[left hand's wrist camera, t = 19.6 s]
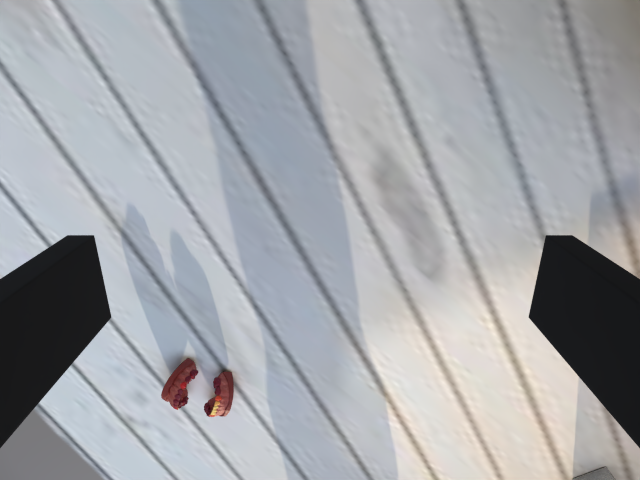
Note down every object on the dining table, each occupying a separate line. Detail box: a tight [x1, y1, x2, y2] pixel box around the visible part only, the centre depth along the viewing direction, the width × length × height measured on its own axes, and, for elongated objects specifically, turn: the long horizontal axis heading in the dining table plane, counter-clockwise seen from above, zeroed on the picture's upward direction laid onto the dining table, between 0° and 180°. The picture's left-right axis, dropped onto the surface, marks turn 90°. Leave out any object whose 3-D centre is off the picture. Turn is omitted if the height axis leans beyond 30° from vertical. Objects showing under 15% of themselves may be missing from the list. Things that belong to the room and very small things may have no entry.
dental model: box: [161, 358, 233, 417], centre depth 50 cm, size 6×4×8 cm
